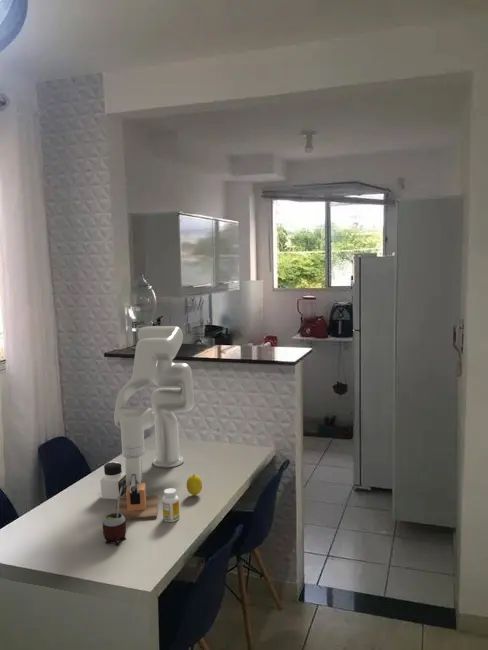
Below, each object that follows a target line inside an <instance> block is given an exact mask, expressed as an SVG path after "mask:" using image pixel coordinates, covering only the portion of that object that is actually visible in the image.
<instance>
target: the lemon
mask: <svg viewBox="0 0 488 650" xmlns="http://www.w3.org/2000/svg"><path fill="white" fill-rule="evenodd" d="M186 489H187V492H188V493H189V494H191V495H193V496H194V497H196V496H197V495H198V494H200V493H201V491H202V489H203V482H202V479H201V477H200V476H199V475H197V474H192V475H190V476H189V477H188V478H187V481H186Z"/></svg>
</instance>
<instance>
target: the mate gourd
mask: <svg viewBox="0 0 488 650" xmlns="http://www.w3.org/2000/svg"><path fill="white" fill-rule="evenodd" d="M122 488H123V487H121V489H120V492H119V496H118V499H117V503H118V505H117V504H116V507H117V513H115V512H112V513H109V514H106V515H105V517H104V519H103V520H102V533H103V537H104V540H105V541H104V543H105V545H108V544H112V543H114V544H115V546H116V547H118V546H120V545H119V542H121V541H124V540H126V539H127V537H126V533H127V521H126V520H125V517H124V516H123V515H122V514H120V513H119V502H120V495H121V491H122Z"/></svg>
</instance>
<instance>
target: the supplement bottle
mask: <svg viewBox="0 0 488 650" xmlns="http://www.w3.org/2000/svg"><path fill="white" fill-rule="evenodd" d="M161 501H162V502H161V504H162V519H163V521H165V522H167V523H172V522H173V523H174V522H177V521H179V519H180V500H179V496H178V495H177V489H176V488H173V487H171V488H166V489H164V490H163V497H162V498H161Z"/></svg>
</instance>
